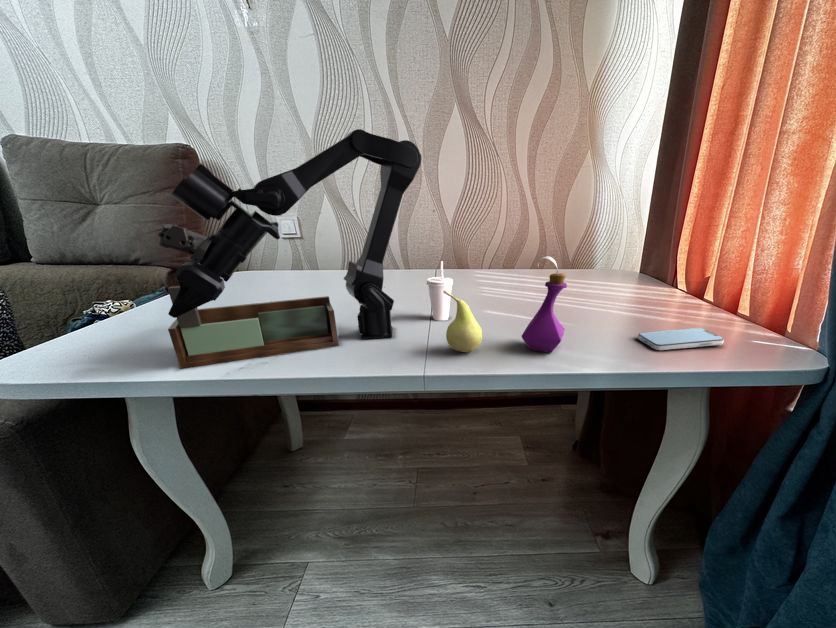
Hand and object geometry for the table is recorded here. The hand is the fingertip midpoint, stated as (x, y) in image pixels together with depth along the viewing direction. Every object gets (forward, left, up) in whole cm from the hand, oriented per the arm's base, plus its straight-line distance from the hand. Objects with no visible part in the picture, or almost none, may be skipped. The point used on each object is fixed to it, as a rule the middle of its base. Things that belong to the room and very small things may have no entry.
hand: (176, 310), depth 65 cm
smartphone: (-94, +5, -10) cm, 95 cm away
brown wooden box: (-11, -5, -10) cm, 16 cm away
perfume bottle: (-65, +3, -10) cm, 66 cm away
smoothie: (-47, -20, -10) cm, 52 cm away
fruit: (-49, +2, -10) cm, 50 cm away
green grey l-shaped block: (-6, -1, -9) cm, 11 cm away
